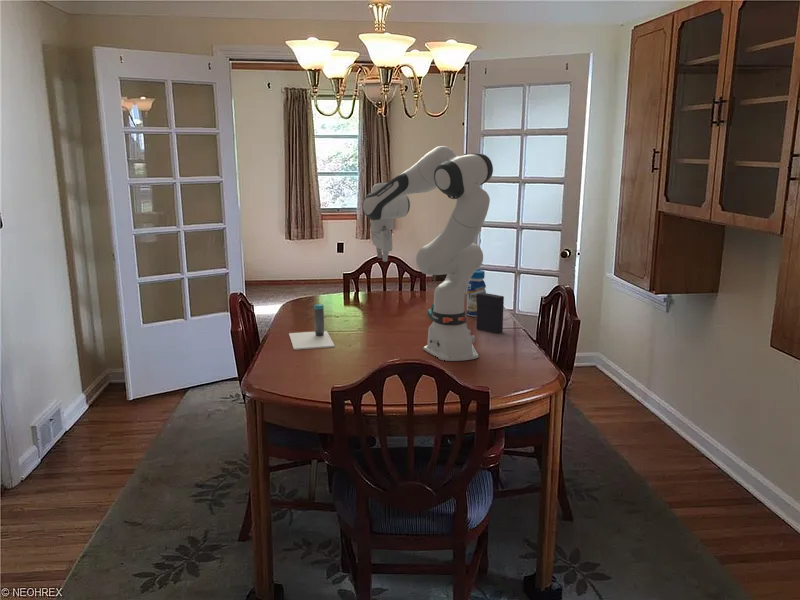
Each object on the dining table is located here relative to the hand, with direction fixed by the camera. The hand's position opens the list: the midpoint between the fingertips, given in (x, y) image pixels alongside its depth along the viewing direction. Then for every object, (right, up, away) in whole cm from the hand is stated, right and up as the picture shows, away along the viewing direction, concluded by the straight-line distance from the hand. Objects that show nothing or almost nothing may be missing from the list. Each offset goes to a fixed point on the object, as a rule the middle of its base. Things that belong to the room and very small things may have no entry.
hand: (382, 259), depth 253 cm
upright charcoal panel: (+43, -29, +6) cm, 52 cm away
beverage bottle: (+41, -23, +32) cm, 57 cm away
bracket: (+24, -24, +27) cm, 43 cm away
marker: (-24, -30, -3) cm, 39 cm away
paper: (-27, -32, -8) cm, 43 cm away
